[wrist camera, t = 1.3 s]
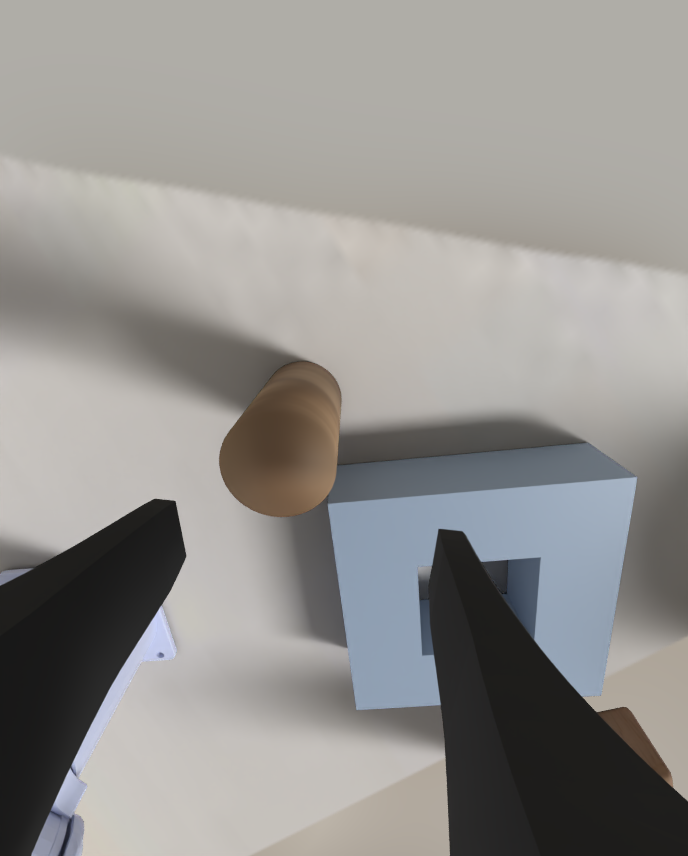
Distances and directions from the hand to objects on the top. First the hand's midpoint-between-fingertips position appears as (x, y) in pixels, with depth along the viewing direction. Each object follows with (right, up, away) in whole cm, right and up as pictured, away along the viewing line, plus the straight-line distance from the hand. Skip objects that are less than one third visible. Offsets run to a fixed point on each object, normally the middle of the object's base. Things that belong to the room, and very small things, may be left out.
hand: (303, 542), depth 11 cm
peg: (-1, +5, +10) cm, 11 cm away
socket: (+8, -5, +14) cm, 17 cm away
